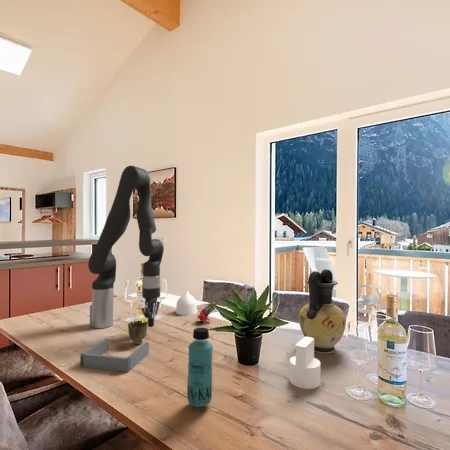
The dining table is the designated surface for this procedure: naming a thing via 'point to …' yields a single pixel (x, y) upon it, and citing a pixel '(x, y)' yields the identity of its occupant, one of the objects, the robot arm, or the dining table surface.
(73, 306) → the dining table surface
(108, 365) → the box
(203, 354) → the beverage bottle
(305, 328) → the amphora
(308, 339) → the cylinder with rectangular tab
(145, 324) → the cup
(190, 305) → the teardrop
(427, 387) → the dining table surface
